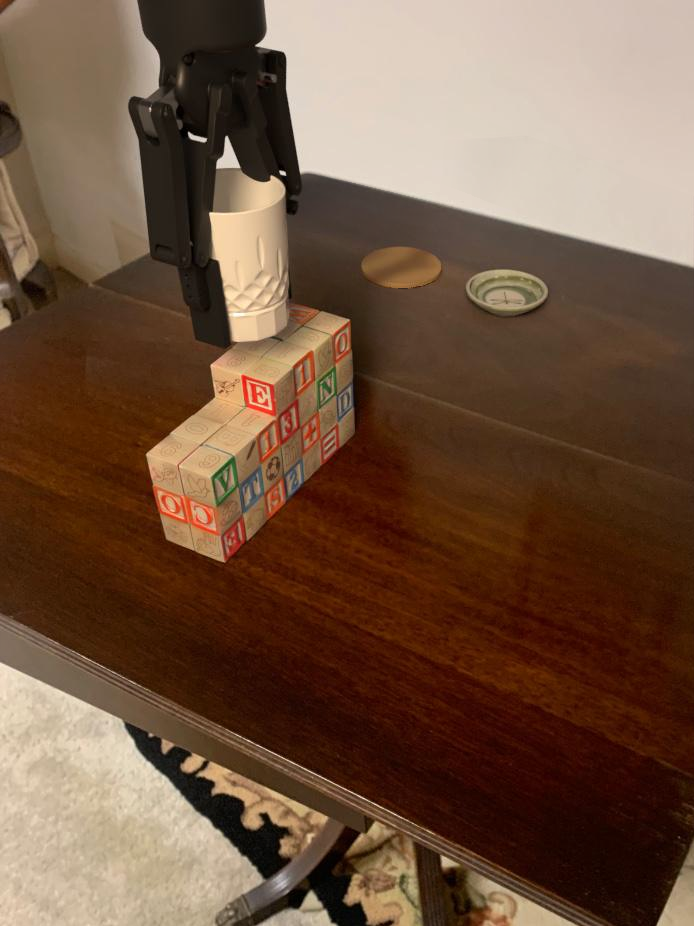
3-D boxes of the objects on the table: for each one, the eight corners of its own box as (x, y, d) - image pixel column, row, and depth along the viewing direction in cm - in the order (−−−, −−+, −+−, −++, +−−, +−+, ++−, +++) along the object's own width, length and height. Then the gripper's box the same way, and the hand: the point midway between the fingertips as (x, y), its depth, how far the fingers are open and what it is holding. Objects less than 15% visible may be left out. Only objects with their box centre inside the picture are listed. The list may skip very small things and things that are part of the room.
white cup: (233, 287, 73) (215, 159, 65) (316, 311, 70) (306, 182, 63) (172, 330, 68) (145, 196, 60) (259, 357, 65) (241, 223, 58)
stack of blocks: (226, 566, 73) (202, 445, 64) (165, 542, 75) (133, 420, 66) (356, 432, 87) (351, 316, 78) (302, 414, 88) (291, 298, 79)
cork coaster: (346, 276, 109) (346, 271, 108) (385, 244, 115) (385, 240, 114) (418, 296, 106) (418, 291, 105) (454, 263, 112) (454, 258, 112)
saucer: (530, 283, 109) (532, 264, 107) (557, 322, 103) (560, 303, 101) (455, 290, 107) (455, 271, 105) (478, 331, 101) (479, 311, 99)
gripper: (132, 10, 45) (204, 396, 61) (340, -58, 58) (353, 275, 74) (18, -12, 47) (118, 367, 63) (243, -74, 60) (277, 254, 76)
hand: (245, 317), depth 69 cm, fingers closed on white cup, 8 cm apart
